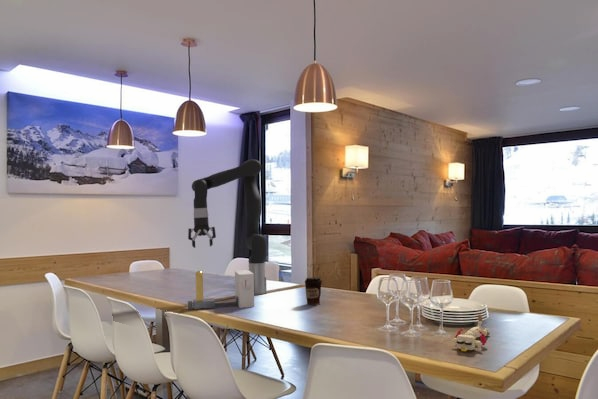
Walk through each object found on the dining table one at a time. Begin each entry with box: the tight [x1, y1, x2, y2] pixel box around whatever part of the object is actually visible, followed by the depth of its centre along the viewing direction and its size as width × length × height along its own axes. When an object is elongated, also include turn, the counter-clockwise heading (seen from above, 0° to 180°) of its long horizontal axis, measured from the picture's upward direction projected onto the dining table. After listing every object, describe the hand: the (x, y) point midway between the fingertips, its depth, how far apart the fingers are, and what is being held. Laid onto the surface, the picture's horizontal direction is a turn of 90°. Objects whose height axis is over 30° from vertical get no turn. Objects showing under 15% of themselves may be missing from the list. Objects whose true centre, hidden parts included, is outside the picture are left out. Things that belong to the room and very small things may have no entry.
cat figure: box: [451, 314, 490, 352], centre depth 159 cm, size 10×9×25 cm
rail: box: [187, 300, 239, 311], centre depth 228 cm, size 26×4×4 cm, turn 107°
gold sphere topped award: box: [192, 270, 216, 310], centre depth 226 cm, size 10×7×18 cm
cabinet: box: [234, 269, 255, 309], centre depth 231 cm, size 8×15×16 cm, turn 17°
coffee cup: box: [304, 276, 323, 306], centre depth 228 cm, size 9×8×13 cm
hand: (202, 247), depth 248 cm, fingers open, 8 cm apart
